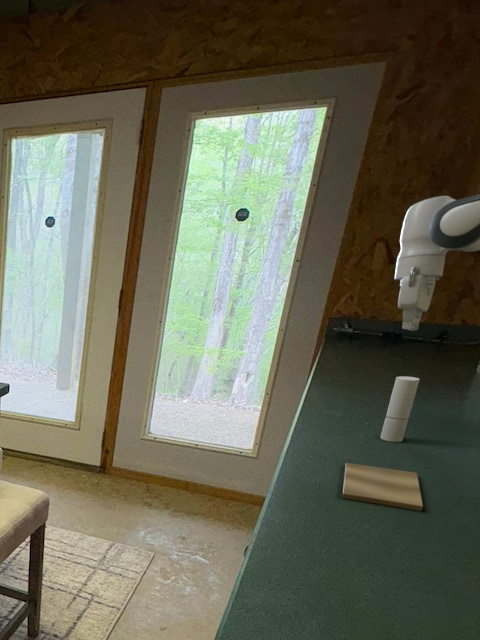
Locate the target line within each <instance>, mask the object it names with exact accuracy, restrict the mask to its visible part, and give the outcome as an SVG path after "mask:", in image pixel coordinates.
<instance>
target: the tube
mask: <svg viewBox="0 0 480 640" xmlns="http://www.w3.org/2000/svg"><path fill="white" fill-rule="evenodd" d="M420 380H421V379H420V378H419V377H414V376H405V375H404V376H402V375H401V376H396V377H395V381H394V385H393V387H392V391H391V396H390V400H389V404H388V407H387V411H386V414H385V415H386V416H385V418H384V422H383V425H382V429H381V433H380V438H379V439H381V440H383V441H385V442H386V441H387V442H392V443H401V442H403V440H404V436H405V433H406V429H407V425H408V422H409V418H410V416H411V411H412V408H413V404H414V401H415V397H416V394H417V390H418V387H419V383H420Z"/></svg>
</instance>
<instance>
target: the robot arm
mask: <svg viewBox="0 0 480 640" xmlns="http://www.w3.org/2000/svg"><path fill="white" fill-rule="evenodd" d="M405 213H406V214H405V216H404V219H403V222H402V227H401V232H400V237H399V244H400V251H399V253H398V255H397V259H396V264H395V271H394V272H395V273H394V280H395V281H400V283H399V287H400V289H399V294H398V300H397V308H398V309H400V310H402V326H401V328H402V330H408V331H409V332H416V331H418V330H419V325H420V322H421V318H422V316H423V315H422V314H423V313H426V312H428V310H429V308H430V305H431V301H432V299H433V295H434V291H435V288H436V287H435V286H436V281H439V280H440V278H442V277H443V276H444V275H443V274H444V267H445V263H446V256H447V253H448V252H450V251H461V252H465V253H466V252H469V253H472V252H478V251H480V193H478V194H474V195H470V196H468V197H463V198H460V199H455V198H452V197H451V196H449V195H437V196H431V197H428V198H424V199H422V200H419V201H417V202H416V203H413V204H412V205H411V206H410V207H409V208H408V209H407V211H406V212H405Z"/></svg>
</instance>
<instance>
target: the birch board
mask: <svg viewBox="0 0 480 640" xmlns="http://www.w3.org/2000/svg"><path fill="white" fill-rule="evenodd" d="M419 482H420V481H419V476H418V473H417V472H414V471H408V470H407V471H406V470H399V469H392V468H386V467H385V468H384V467H380V466H379V467H377V466H372V465H371V466H370V465H363V464H357V463H349V462H346V463H345V465H344V475H343V482H342V483H343V485H342V493H341V494H342V495H341V499H346V500H352V501H358V502H363V503H370V504H376V505H383V506H389V507H395V508H400V509H408V510H413V511H418V512H422V511H423V508H424V504H423V499H422V494H421V488H420V483H419Z"/></svg>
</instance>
